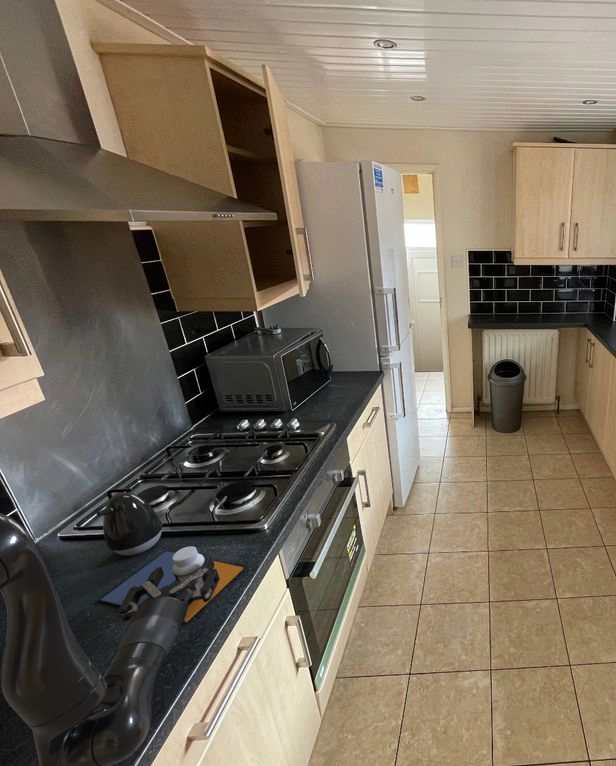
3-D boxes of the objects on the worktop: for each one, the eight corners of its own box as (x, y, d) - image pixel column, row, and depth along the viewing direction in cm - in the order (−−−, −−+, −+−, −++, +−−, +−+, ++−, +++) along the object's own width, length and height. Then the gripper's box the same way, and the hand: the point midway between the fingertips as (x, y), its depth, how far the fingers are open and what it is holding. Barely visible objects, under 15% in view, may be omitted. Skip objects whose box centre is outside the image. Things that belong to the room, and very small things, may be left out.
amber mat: (186, 622, 82) (185, 621, 82) (146, 612, 84) (145, 610, 84) (243, 568, 95) (243, 567, 95) (207, 561, 97) (207, 559, 97)
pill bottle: (186, 582, 91) (173, 547, 87) (215, 575, 93) (203, 540, 89) (178, 602, 86) (163, 566, 82) (208, 594, 88) (196, 558, 84)
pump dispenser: (99, 561, 97) (74, 508, 91) (141, 530, 106) (121, 480, 101) (138, 565, 96) (115, 511, 90) (177, 533, 105) (159, 483, 100)
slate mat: (138, 610, 85) (138, 609, 84) (101, 601, 87) (100, 599, 87) (200, 559, 97) (200, 558, 97) (166, 552, 99) (165, 551, 99)
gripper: (194, 606, 72) (220, 542, 86) (91, 631, 68) (137, 559, 82) (205, 636, 75) (229, 570, 89) (107, 662, 71) (149, 588, 85)
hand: (185, 565), depth 86 cm, fingers open, 8 cm apart
